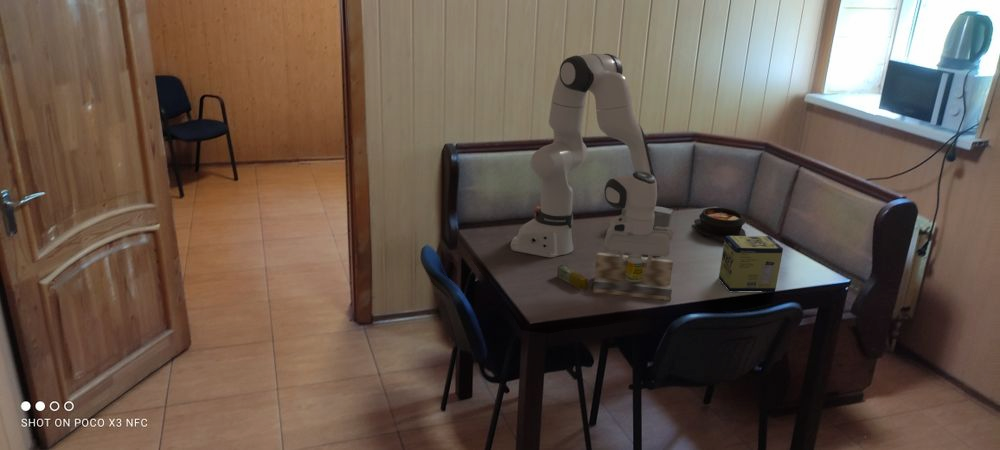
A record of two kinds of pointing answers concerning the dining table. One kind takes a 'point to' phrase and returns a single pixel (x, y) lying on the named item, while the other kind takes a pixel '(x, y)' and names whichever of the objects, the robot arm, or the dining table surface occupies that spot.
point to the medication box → (572, 277)
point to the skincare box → (662, 217)
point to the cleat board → (614, 281)
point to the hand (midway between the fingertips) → (634, 265)
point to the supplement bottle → (634, 267)
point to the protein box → (750, 263)
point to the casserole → (720, 223)
